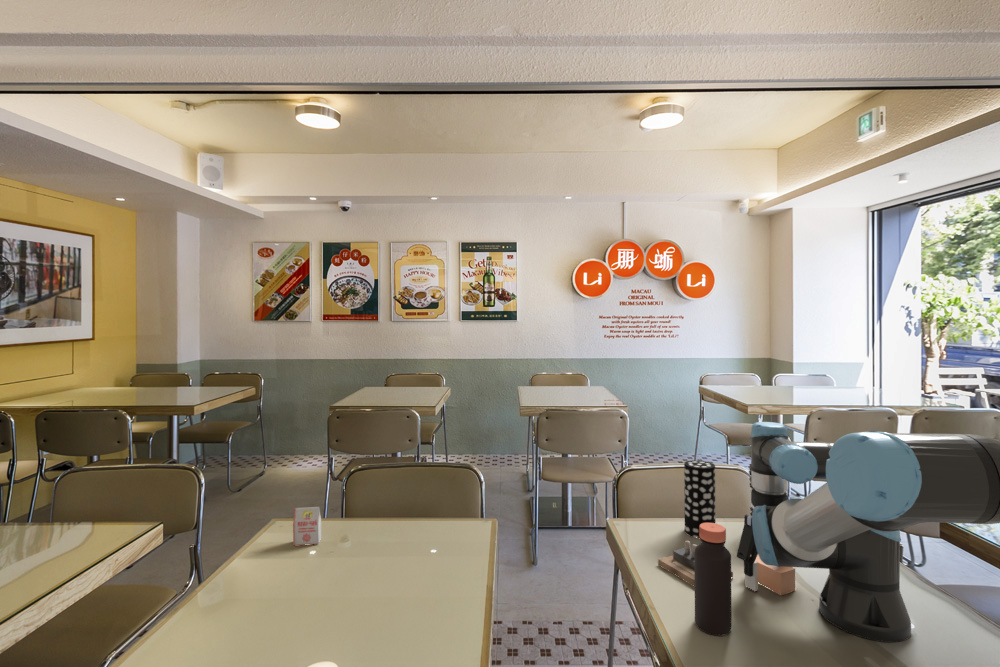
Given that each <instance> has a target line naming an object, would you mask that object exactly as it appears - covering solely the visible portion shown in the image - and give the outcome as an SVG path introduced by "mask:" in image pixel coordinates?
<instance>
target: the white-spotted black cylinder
mask: <svg viewBox="0 0 1000 667" xmlns="http://www.w3.org/2000/svg"><path fill="white" fill-rule="evenodd" d="M683 465H684V466H683V467H684V469H683V470H684V472H683V473H684V474H683V476H684V477H683V478H684V479H683V480H684V481H683V482H684V488H683V489H684V494H683V495H684V533H685V532H686V533H687V534H688V535H687V534H686V533H685V534H686V535H687V536H689V535H690V537H691V536H692V538H695V539H699V538H700V536H699V525H700V524H702V523H716V464H714V463H712V462H709V461H706V460H705V461H704V460H695V459H694V460H687V461H684V463H683ZM696 537H697V538H696Z"/></svg>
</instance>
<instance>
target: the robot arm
mask: <svg viewBox="0 0 1000 667" xmlns="http://www.w3.org/2000/svg"><path fill="white" fill-rule="evenodd" d="M750 431H751V432H750V464H751V475H750V477H751V482H750V483H751V485H752V487H753V488H751V489H750V490H751V492H750V493H751V494H750V502H751V503H752V505H753V506H754V507H755V508H754V509H753V512H752V511H751V512H752V516H751V514H745V515H744V518H743V520H744V521H743V522H744V524H743V529H742V533H741V536H740V541H739V545H738V549H737V552H736V558H737V559H740V560H742V561H743V573H744V586H747V587H748V589H749V588H750V589H749V590H751V589H752V590H751V591H753V590H754V591H753V592H755V591H757V592H759V591H758V590H759V588H758V586H759V584H758V563H757V562H755V560H756V557H757V555H759V557H760V559H761V561H762V562H763V563H765V564H766V565H772V566H777V567H780V566H782V567H793V568H803V569H804V568H805V569H807V568H808V569H822V570H823V569H825V570H826V569H828V576H827V578H826V581H825V584H824V586H823V589H822V590H821V593H820V596H819V603H818V604H819V607H818V608H819V611H820V614H821V615H822V616H823V618H824V619H826V621H828V622H829V623H831V624H832V625H834V626H835V627H836V628H838V629H841V630H842V631H845V632H847V633H850V634H852V635H853V636H857V637H861V638H864V639H867V640H871V641H872V640H873V641H877V642H886V643H896V642H897V643H898V642H904V641H905V640H908V639H909V638H910V637H911V635H912V622H911V618H910V615H909V613H908V609H907V606H906V604H905V601H904V598H903V596H902V593H901V588H900V587H901V586H900V585H901V584H900V576H901V572H900V571H901V570H900V567H901V565H900V563H901V560H900V558H901V556H900V555H901V552H900V551H901V550H900V549H901V548H900V547H901V546H900V544H901V541H902V539H901V533H900V532H901V531H902V530H905V529H909V528H910V527H913V526H915V525H918V524H923V523H924V524H925V523H941V524H942V523H943V524H944V523H945V524H946V523H947V524H948V523H949V524H975V525H995V524H1000V440H999V439H997V438H994V437H989V436H985V435H979V434H973V433H971V434H968V433H905V432H904V433H899V432H898V433H891V432H890V433H889V432H886V431H878V430H870V431H861V432H851V433H847V434H845V435H843V436H841V437H839V438H838V439H837V440H836V441H834V442H813V441H812V442H811V441H807V442H806V441H791V440H789V438H790V437H789V432H788V427H787V426H786V425H785V424H783V423H779V422H775V421H774V422H772V421H759V422H758V421H756V422H754V423H753V424H752V425H751V430H750ZM812 480H826V482H825V483H824V484H822V485H821V486H819V487H818V488H817V489H815V490H814V491H812V492H810V493H809V494H807V495H806V496H804V498H799V497H798V498H790V499H789V497H788V496H789V494H788V491H789V483H791V484H795V485H802V484H803V485H804V484H806V483H808V482H811V481H812ZM747 587H746V588H747Z"/></svg>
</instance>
